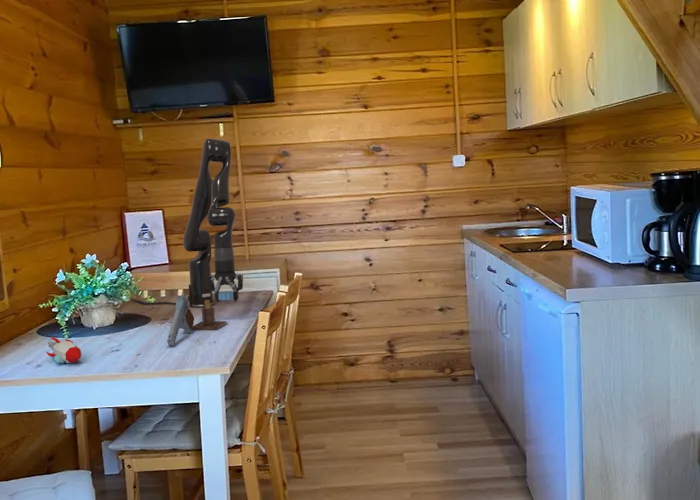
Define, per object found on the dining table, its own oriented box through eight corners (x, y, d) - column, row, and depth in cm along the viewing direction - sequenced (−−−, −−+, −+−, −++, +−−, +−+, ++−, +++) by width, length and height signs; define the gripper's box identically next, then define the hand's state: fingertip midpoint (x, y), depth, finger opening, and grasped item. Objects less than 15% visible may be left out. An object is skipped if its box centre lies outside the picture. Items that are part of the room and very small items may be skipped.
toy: (41, 356, 213) (40, 335, 213) (65, 353, 218) (64, 332, 217) (61, 368, 197) (60, 345, 197) (86, 364, 202) (85, 342, 201)
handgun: (196, 317, 246) (188, 287, 237) (183, 368, 226) (173, 337, 217) (186, 318, 246) (178, 287, 237) (172, 368, 227) (163, 337, 217)
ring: (216, 300, 258) (215, 294, 258) (222, 297, 265) (221, 291, 264) (231, 300, 257) (231, 293, 257) (237, 297, 264) (237, 290, 263)
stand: (190, 329, 244) (189, 302, 243) (201, 323, 254) (199, 298, 253) (216, 329, 243) (215, 302, 242) (226, 323, 252) (225, 297, 251)
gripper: (245, 257, 262) (247, 299, 264) (210, 258, 264) (213, 299, 266) (238, 259, 254) (241, 303, 256) (202, 260, 257) (205, 303, 259)
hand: (226, 301), depth 261 cm, fingers closed on ring, 6 cm apart
